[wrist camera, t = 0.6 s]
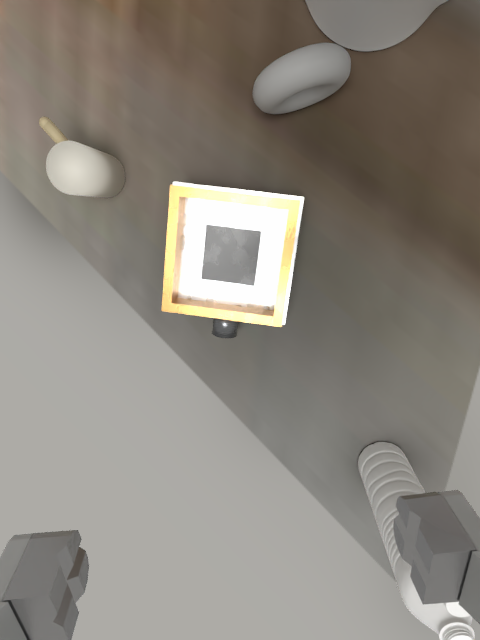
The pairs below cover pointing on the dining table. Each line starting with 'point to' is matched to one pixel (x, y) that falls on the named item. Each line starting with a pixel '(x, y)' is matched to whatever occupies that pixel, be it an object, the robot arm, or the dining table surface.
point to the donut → (301, 78)
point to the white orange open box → (230, 255)
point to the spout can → (81, 167)
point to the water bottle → (383, 491)
